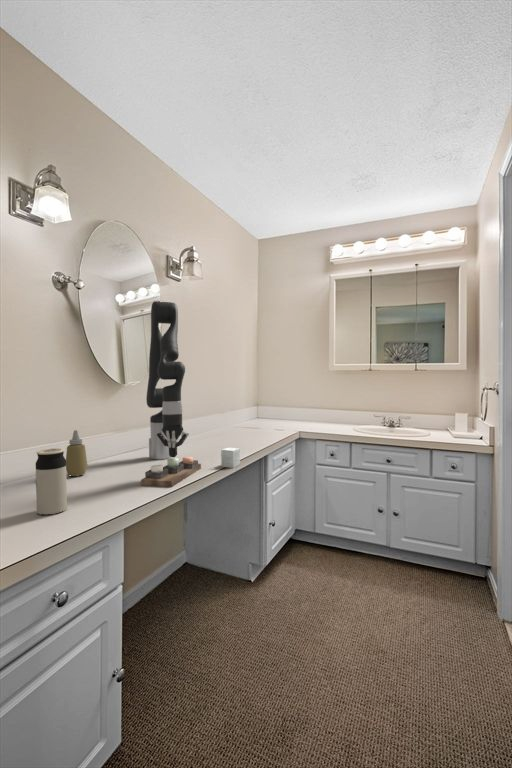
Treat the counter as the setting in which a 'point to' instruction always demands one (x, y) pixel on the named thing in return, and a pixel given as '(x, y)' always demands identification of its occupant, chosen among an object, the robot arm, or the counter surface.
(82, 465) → the squeeze bottle
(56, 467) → the travel mug
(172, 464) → the sage button
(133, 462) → the counter surface
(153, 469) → the cream button
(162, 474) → the button panel
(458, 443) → the counter surface
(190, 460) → the terracotta button
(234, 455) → the product box
